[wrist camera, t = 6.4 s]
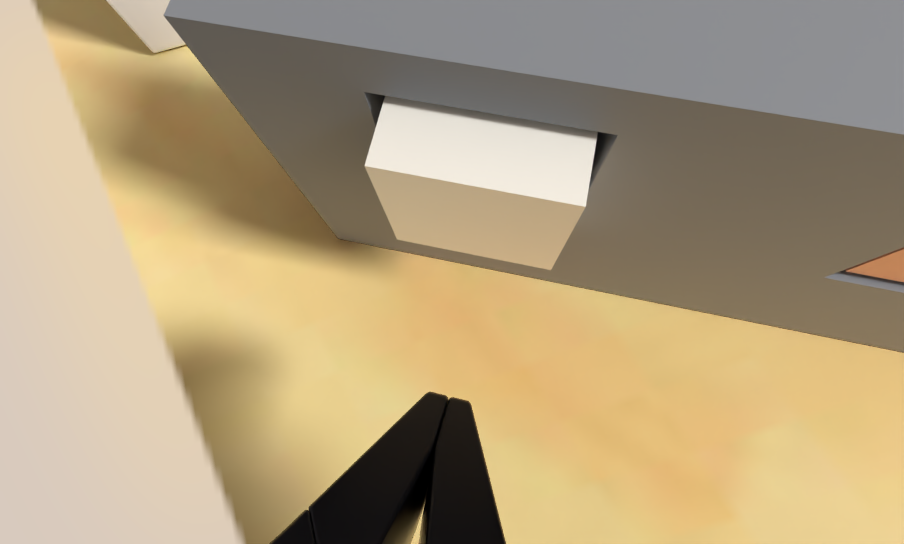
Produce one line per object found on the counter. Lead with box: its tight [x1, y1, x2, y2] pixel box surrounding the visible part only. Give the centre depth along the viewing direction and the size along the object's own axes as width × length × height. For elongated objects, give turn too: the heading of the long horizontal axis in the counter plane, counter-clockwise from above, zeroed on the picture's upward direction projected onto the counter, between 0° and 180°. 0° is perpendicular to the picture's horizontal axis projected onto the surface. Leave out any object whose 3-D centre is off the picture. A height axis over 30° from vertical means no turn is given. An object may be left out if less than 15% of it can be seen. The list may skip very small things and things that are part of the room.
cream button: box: [365, 96, 598, 270], centre depth 11 cm, size 2×4×4 cm, turn 77°
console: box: [163, 0, 904, 352], centre depth 13 cm, size 5×22×11 cm, turn 77°
